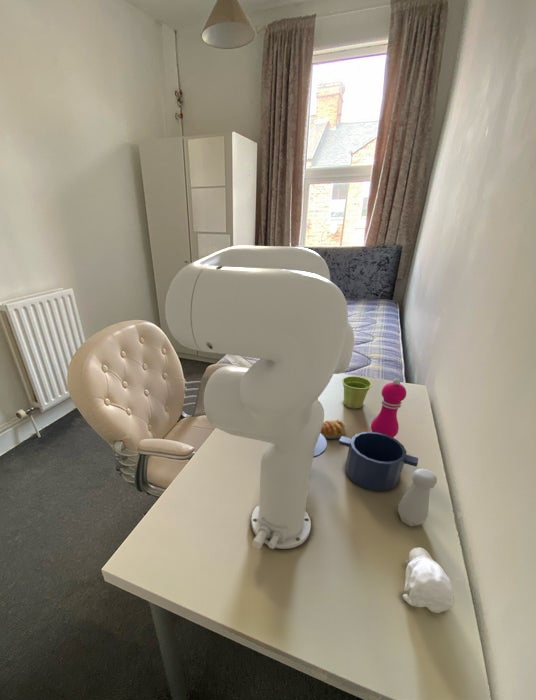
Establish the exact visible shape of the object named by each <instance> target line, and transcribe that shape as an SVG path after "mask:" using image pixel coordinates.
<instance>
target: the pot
mask: <svg viewBox="0 0 536 700" xmlns="http://www.w3.org/2000/svg"><path fill="white" fill-rule="evenodd" d="M338 445H341V446H344V447H348V452H347V457H346V461H345V472H346V476H347V477H348V478H349V480H351V481H352V482H353V483H354V484H356V485H357V486H358V487H361V488H363V489H365V490H369V491H373V492H387V491H390V490H392V489H394V488H395V487H396V486H397V485H398V483H399V480H400V477H401V474H402V470H403V467H404V464H406V465H409V466H412V467H415V468H417V467H418V463H419V457H416V456H414V455H410V454H407V452H408V451H407V450H406V448H405V445H403V444H402V443H401V442H400V441H399V440H398V439H397V438H395V437H394V438H392V437H390V436H388V435H385V434H382V433H378V432H372V431H362V432H358V433H356V434H355V435H353V436H352V437H351V438H350V437H347V436H344V437H343V436H341V438H339V440H338Z"/></svg>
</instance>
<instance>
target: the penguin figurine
mask: <svg viewBox="0 0 536 700" xmlns="http://www.w3.org/2000/svg"><path fill="white" fill-rule="evenodd" d="M405 562H406V568H405V582H404V583H405V584H404V589H403V590H404V591H405V592H407V591H409V590H410V591H409V594H408V593H403V594H402V598H403V600H404V601H405V602H406V603H407V604H409V605H410V606H411V607H417V608H425V607H426V608H427V610H429V611H430V612H432V613H434V614H440V613H442V612H446V611H448V610H449V609H450V608H452V607H453V606H454V604H455V598H454V588H453V585H452V581H451V579H450V578H449V576H448V575H447V573H446V572H445V571H444V569H443V568H442V566H441V565H440V563H438V562H437V561H435V560H434V559H433V558H432V556H431V554H430V553H429V552H428V551H427V550H426V549H425V548H423V547H419V546H418V547H414V548H412V549H411V550H410V551H409V554H408V558H406V559H405Z"/></svg>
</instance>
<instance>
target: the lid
mask: <svg viewBox="0 0 536 700" xmlns="http://www.w3.org/2000/svg"><path fill="white" fill-rule="evenodd" d="M327 446H328V442H327V438H325V437H324V436H323V435H322V434H321V433H320V435H319V438H318V441H317V444H316V448H315V451H314V456H313V459H314V458H318V457H319V456H321V455H323V454H324V453H325V451H326V450H327Z"/></svg>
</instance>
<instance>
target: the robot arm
mask: <svg viewBox="0 0 536 700" xmlns="http://www.w3.org/2000/svg"><path fill="white" fill-rule="evenodd" d="M164 314H165V320H166V324H167V328H168V329H169V332H170V334H171V335H172V337H173V338H174V340H176V341H177V342H178V343H179V344H180V345H182V346H184V347H186V348H187V349H190V350H193V351H199V352H204V353H205V352H206V353H211V354H221V355H227V356H235V357H245V358H252V359H258V360H257V361H256V362H255V363H253V364H252V365H251V366H250V367H244V366H235V365H225V366H222V367H219V368H218V369H216V370H215V371H214V372H213V373H212V374H211V375H210V376H209V378H208V379H207V382H206V384H205V388H204V392H203V410H204V414H205V417H206V418H207V421H208V422H209V423H210V425H211V426H212V427H214V428H216V429H218V430H220V431H222V432H225V434H229V435H232V436H235V437H239V438H244V439H245V438H246V439H251V440H256V441H260V442H265V443H267V444H268V443H269V444H268V446H267V447H265V450H264V451H263V453H262V456H261V459H260V472H259V473H260V476H259V501H258V505H256V506H255V507H254V509H253V511H252V514H251V517H250V518H251V519H250V523H251V525H250V526H251V528H252V532H253V533H254V535H255V537H254V539H253V540H252V542H251V544H252V546H253V548H255V549H256V550H260V549H262V547H263V546H264V544H265V545H267V547H268V548H269V549H271V550H274V549H279V550H286V549H293V548H297V547H298V546H301V545H302V544H303V543H304V542H306V540H308V538H309V535H310V533H311V528H312V522H311V518H310V516H309V514H308V512H307V503H308V494H309V488H310V481H311V473H312V466H313V462H314V461H313V460H314V458H313V456H314V451H315V448H316V444H317V441H318V438H319V435H320V432H321V429H322V426H323V422H325V410H324V406H323V404H322V403H321V401H319V397H320V396H321V395H322V394H323V392H324V391H325V389H326V388H327V387H328V385H329V384H330V382H331V380H332V379H333V376H334V375H340V374H343V373H344V372H346V370H347V369H348V368H349V365H350V363H351V361H352V357H353V352H354V348H355V333H354V330H353V327H352V325H351V323H350V322H349V309H348V303H347V300H346V296H345V295H344V293H343V291H342V290H341V289H340V287H338V285H336V283H334V282H333V281H331V274H330V268H329V265H328V264H327V262H326V260H325V259H324V258H323V257H322V256H321V255H320V254H319V253H318V252H316V251H314V250H312V249H309V248H305V247H299V246H283V245H281V246H280V245H278V246H277V245H276V246H275V245H233V246H229V247H225V248H223V249H220V250H218V251H215V252H213V253H211V254H208V255H206V256H204V257H202V258H200V259H197V260H195V261H192V262H191V263H189V264H187V265H185V266H183V267H182V268H181V269H180V270H179V271H178V272H177V274H176V275H174V277H173V279H172V281H171V283H170V285H169V287H168V290H167V293H166V298H165V305H164Z"/></svg>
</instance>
